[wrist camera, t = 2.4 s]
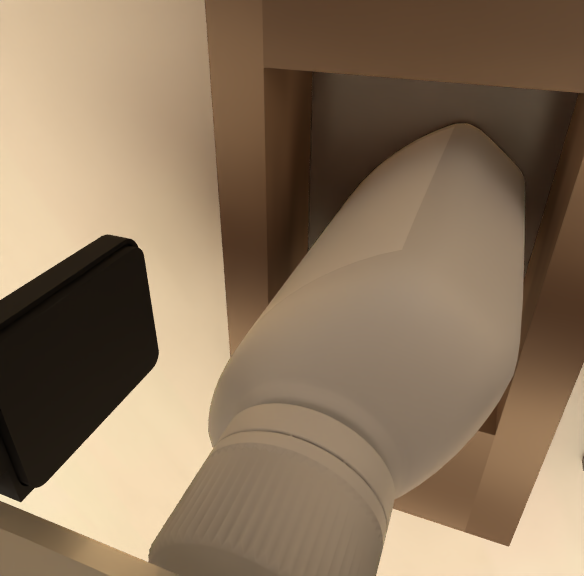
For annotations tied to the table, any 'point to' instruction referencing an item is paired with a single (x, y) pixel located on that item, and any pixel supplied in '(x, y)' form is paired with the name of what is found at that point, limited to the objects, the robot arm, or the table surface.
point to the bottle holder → (296, 180)
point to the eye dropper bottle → (362, 369)
